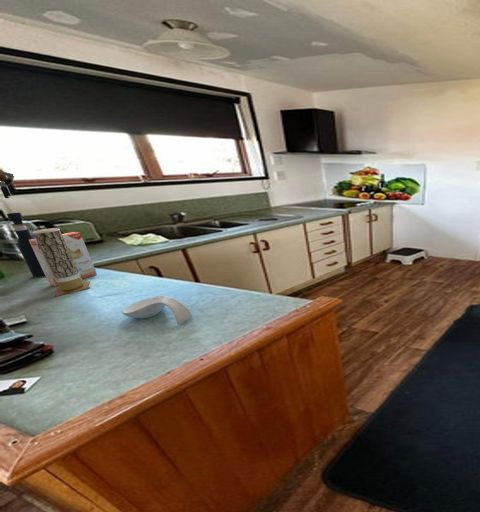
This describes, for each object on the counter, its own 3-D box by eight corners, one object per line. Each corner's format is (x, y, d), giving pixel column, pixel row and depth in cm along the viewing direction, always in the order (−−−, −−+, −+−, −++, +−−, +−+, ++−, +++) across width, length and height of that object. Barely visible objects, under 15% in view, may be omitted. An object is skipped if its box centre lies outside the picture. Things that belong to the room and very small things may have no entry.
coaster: (54, 296, 107) (53, 295, 107) (56, 289, 114) (56, 288, 114) (90, 288, 114) (89, 287, 114) (90, 281, 121) (90, 280, 121)
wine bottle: (34, 278, 126) (2, 215, 116) (32, 275, 130) (0, 213, 120) (55, 273, 131) (25, 212, 121) (52, 271, 135) (23, 211, 125)
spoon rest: (116, 320, 89) (108, 301, 87) (154, 303, 99) (148, 285, 97) (168, 331, 82) (161, 310, 80) (203, 311, 93) (198, 292, 90)
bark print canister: (65, 292, 110) (37, 232, 101) (57, 290, 112) (28, 231, 104) (87, 285, 116) (63, 228, 107) (79, 283, 118) (54, 227, 110)
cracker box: (57, 287, 116) (34, 240, 109) (49, 285, 118) (27, 239, 111) (98, 274, 129) (80, 232, 122) (90, 273, 131) (72, 231, 124)
